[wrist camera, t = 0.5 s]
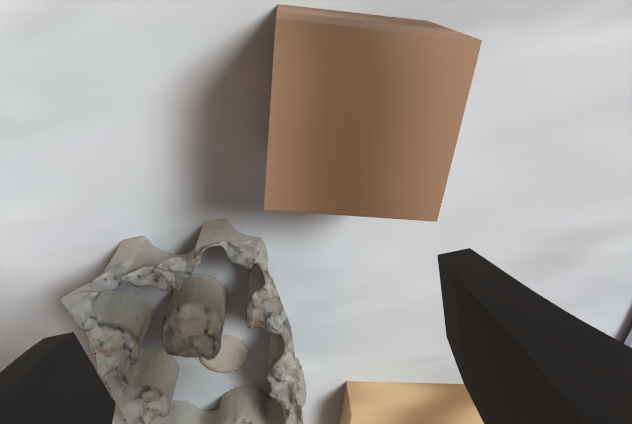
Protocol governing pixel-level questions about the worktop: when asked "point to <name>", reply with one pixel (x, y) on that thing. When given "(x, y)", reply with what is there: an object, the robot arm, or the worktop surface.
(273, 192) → the walnut cube
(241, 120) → the worktop surface
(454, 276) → the robot arm
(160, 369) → the egg carton
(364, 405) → the board
